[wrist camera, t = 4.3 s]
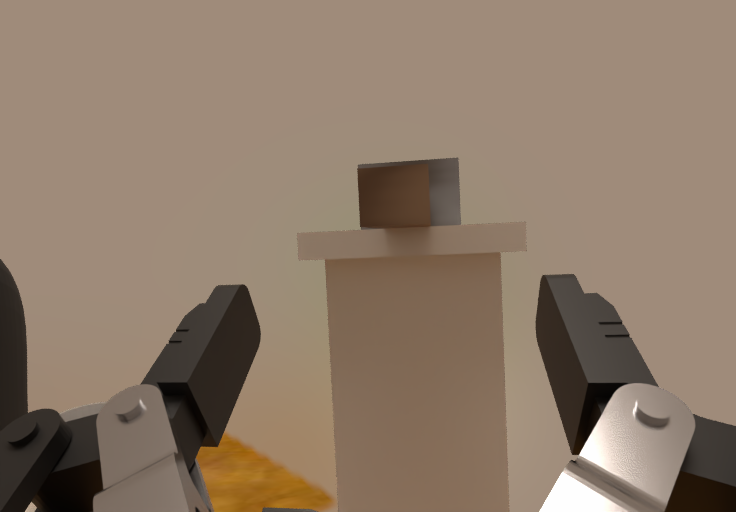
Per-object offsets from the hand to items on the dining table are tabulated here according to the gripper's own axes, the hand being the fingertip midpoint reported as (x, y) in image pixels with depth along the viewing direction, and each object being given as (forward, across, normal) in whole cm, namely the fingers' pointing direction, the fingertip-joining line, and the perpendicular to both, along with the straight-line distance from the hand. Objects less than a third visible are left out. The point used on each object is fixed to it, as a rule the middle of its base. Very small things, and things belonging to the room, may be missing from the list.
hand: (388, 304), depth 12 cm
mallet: (+11, 0, +4) cm, 11 cm away
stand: (-2, 0, +34) cm, 34 cm away
